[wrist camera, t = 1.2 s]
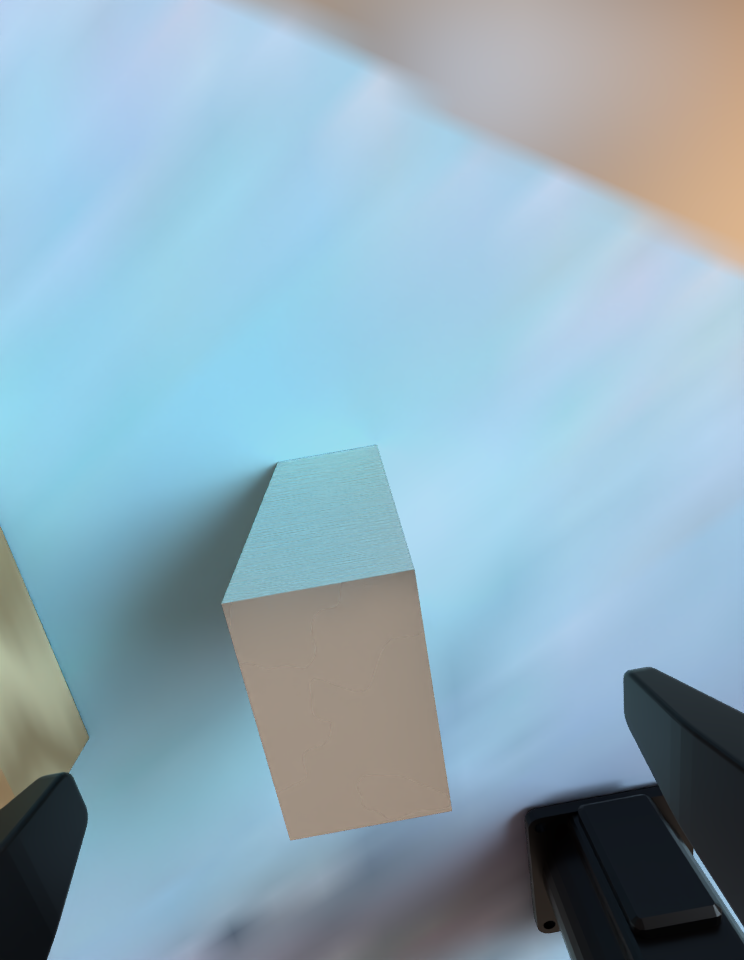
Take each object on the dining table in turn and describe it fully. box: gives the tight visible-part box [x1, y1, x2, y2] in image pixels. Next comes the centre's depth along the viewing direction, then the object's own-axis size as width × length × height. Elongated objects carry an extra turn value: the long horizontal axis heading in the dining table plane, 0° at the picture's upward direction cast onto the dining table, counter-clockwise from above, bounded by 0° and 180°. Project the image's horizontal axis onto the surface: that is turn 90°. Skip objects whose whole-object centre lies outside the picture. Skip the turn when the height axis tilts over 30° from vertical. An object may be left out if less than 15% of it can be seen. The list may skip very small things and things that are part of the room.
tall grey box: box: [221, 445, 452, 840], centre depth 13 cm, size 5×3×8 cm, turn 9°
